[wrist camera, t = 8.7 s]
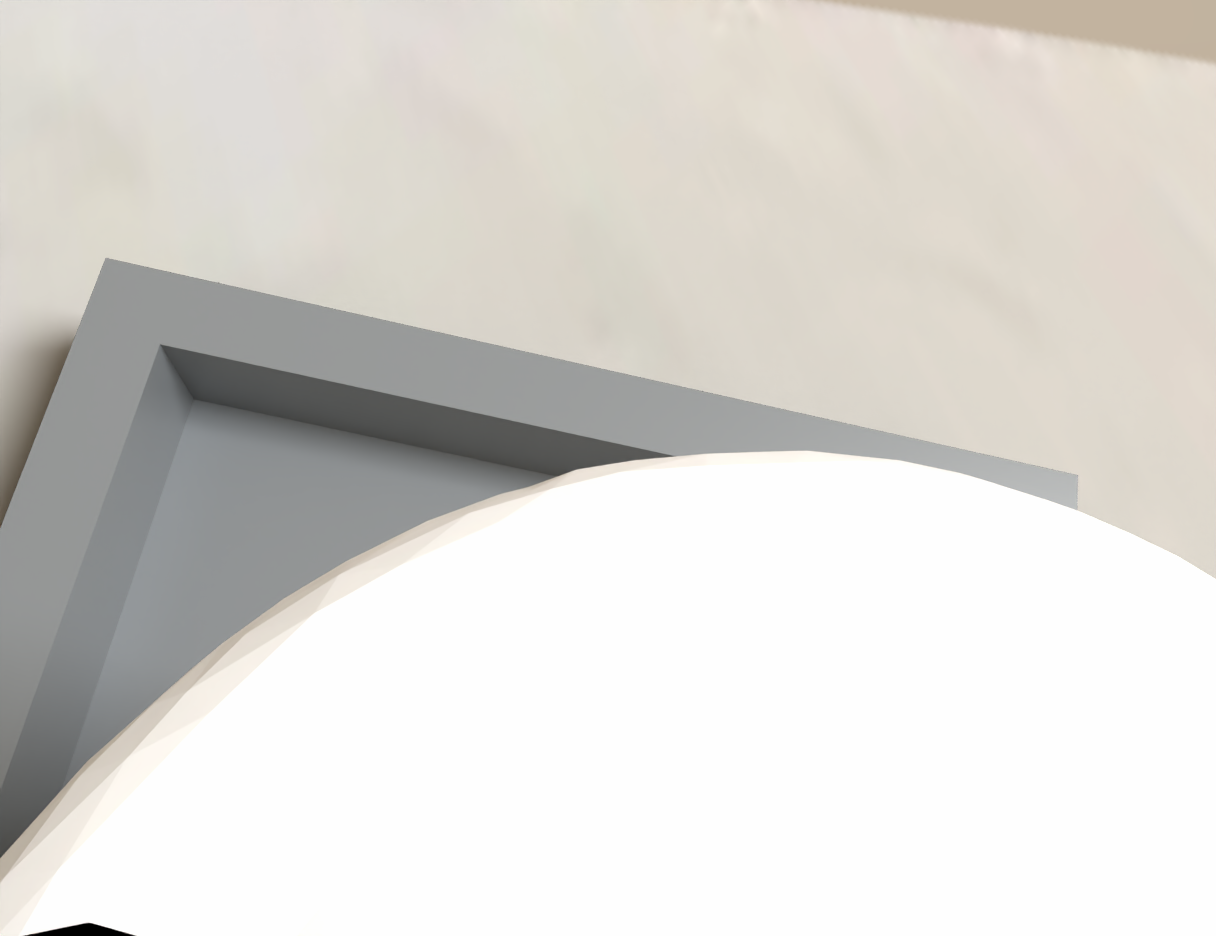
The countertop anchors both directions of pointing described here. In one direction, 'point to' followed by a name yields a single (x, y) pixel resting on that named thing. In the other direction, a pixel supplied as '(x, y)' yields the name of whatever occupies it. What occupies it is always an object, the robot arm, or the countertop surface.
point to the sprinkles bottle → (676, 727)
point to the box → (292, 482)
